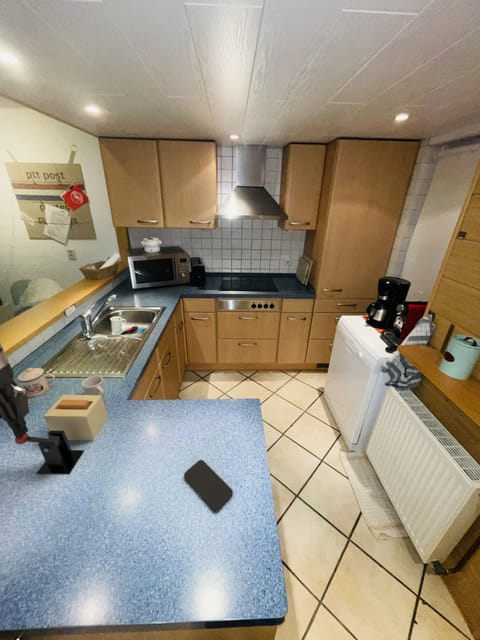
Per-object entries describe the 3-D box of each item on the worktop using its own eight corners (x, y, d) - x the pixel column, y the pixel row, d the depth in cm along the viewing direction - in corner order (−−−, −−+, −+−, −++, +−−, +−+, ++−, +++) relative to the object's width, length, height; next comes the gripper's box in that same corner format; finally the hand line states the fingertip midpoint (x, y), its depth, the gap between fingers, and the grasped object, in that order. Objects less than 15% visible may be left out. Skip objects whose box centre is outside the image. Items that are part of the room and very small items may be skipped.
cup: (114, 397, 107) (110, 382, 104) (95, 408, 101) (91, 392, 98) (100, 387, 112) (96, 372, 109) (82, 397, 106) (77, 382, 103)
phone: (215, 512, 67) (182, 474, 76) (215, 514, 67) (182, 476, 76) (234, 491, 72) (201, 458, 81) (234, 493, 72) (201, 459, 81)
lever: (13, 446, 74) (10, 438, 73) (21, 437, 77) (19, 429, 75) (55, 450, 75) (53, 443, 73) (62, 441, 77) (60, 433, 76)
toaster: (54, 441, 87) (43, 415, 82) (71, 419, 96) (63, 394, 91) (94, 442, 87) (86, 416, 82) (108, 419, 96) (101, 395, 91)
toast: (66, 428, 89) (57, 404, 85) (70, 422, 91) (62, 399, 87) (91, 428, 89) (84, 405, 85) (95, 423, 91) (88, 400, 87)
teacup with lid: (21, 400, 104) (11, 378, 99) (27, 387, 111) (18, 365, 107) (56, 392, 109) (48, 370, 104) (59, 380, 116) (52, 359, 111)
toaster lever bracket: (37, 475, 76) (23, 449, 71) (55, 452, 83) (44, 426, 78) (70, 476, 76) (59, 449, 71) (85, 452, 83) (76, 426, 78)
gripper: (-52, 377, 61) (-12, 445, 70) (3, 378, 61) (35, 445, 71) (-22, 359, 67) (10, 423, 77) (27, 360, 67) (53, 424, 77)
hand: (22, 434), depth 74 cm, fingers closed
